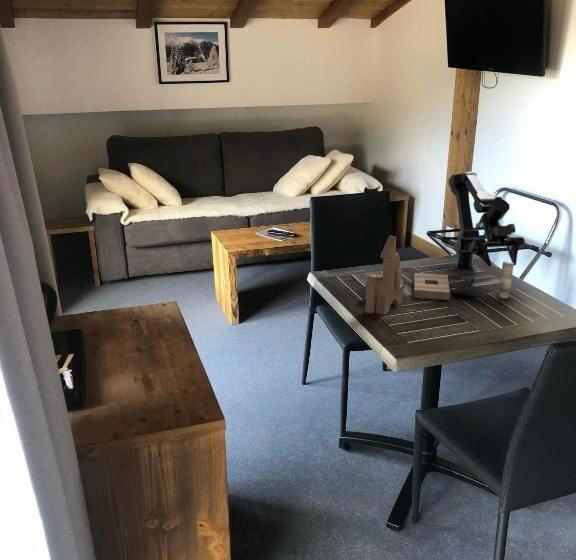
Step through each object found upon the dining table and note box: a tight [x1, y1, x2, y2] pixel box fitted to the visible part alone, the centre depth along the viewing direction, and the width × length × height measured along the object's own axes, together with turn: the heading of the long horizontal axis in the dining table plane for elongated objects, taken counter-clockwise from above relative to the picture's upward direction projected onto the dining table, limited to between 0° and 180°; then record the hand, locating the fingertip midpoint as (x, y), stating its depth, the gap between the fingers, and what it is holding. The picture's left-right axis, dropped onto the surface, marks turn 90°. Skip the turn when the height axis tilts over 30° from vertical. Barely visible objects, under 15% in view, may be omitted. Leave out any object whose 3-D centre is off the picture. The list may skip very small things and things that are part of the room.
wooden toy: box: [365, 235, 404, 316], centre depth 189 cm, size 16×7×25 cm, turn 144°
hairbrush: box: [452, 275, 478, 297], centre depth 210 cm, size 8×4×25 cm
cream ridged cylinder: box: [498, 261, 514, 299], centre depth 200 cm, size 4×4×12 cm
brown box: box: [413, 272, 451, 301], centre depth 208 cm, size 18×12×3 cm, turn 168°
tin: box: [364, 273, 406, 300], centre depth 201 cm, size 15×3×8 cm, turn 111°
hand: (502, 265), depth 202 cm, fingers open, 9 cm apart
